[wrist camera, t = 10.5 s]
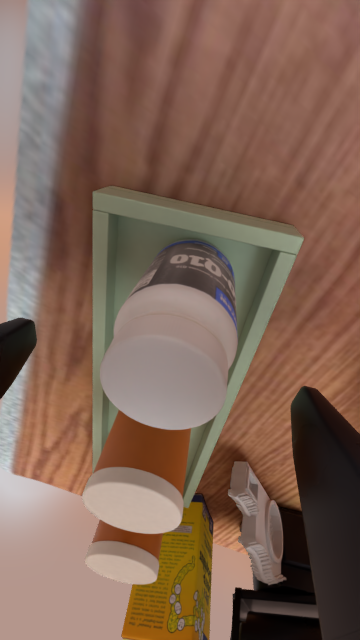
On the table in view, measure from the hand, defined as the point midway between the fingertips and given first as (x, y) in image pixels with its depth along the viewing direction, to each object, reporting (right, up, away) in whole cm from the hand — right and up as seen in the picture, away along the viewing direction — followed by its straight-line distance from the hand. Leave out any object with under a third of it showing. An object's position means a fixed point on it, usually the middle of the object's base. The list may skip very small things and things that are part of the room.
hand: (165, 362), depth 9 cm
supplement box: (+1, -20, +22) cm, 30 cm away
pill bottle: (+1, +4, +6) cm, 8 cm away
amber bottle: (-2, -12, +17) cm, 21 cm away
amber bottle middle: (-1, -4, +12) cm, 12 cm away
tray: (-1, -4, +12) cm, 13 cm away
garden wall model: (+8, -15, +17) cm, 24 cm away
